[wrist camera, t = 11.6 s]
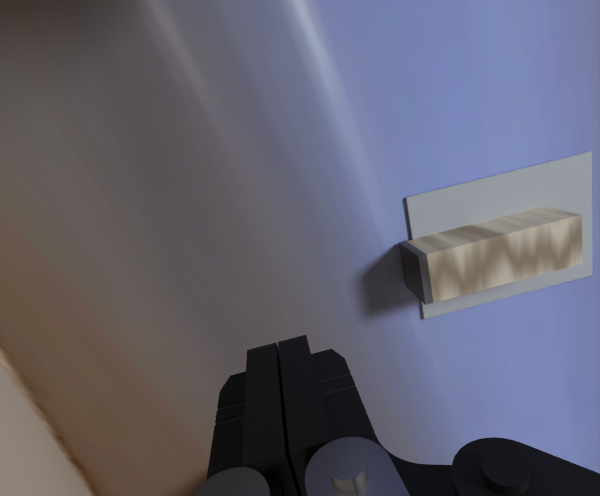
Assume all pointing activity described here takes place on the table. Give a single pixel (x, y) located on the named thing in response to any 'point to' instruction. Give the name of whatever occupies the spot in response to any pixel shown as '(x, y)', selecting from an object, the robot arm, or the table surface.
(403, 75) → the table surface
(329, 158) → the table surface
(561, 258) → the birch block
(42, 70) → the table surface
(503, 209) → the grey mat
